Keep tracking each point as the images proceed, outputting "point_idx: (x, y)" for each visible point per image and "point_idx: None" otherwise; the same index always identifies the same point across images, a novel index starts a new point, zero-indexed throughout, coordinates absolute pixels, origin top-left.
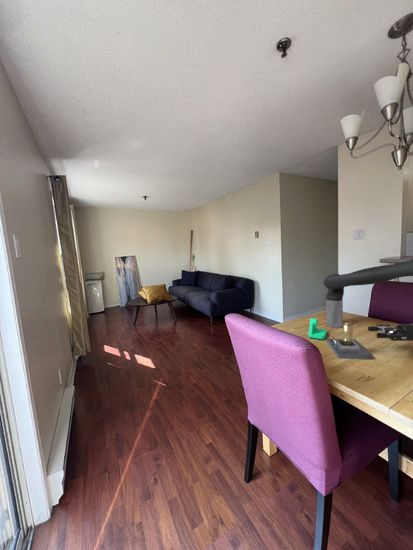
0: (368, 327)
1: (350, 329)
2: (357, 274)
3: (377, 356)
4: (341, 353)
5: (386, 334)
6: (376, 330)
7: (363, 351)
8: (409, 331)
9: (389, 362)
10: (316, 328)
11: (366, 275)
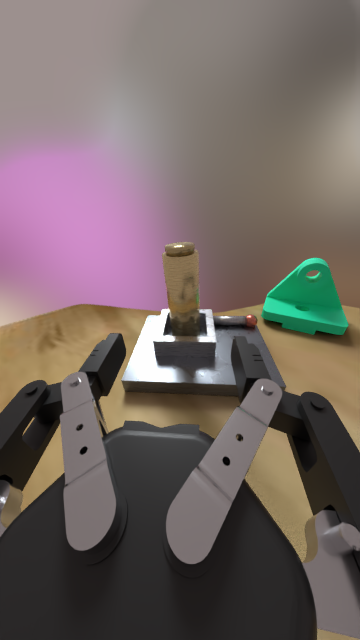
0: (236, 337)
1: (164, 270)
2: None
3: (143, 421)
4: (151, 320)
5: (85, 372)
6: (239, 393)
7: (155, 366)
8: None
9: None
10: (339, 309)
11: None
